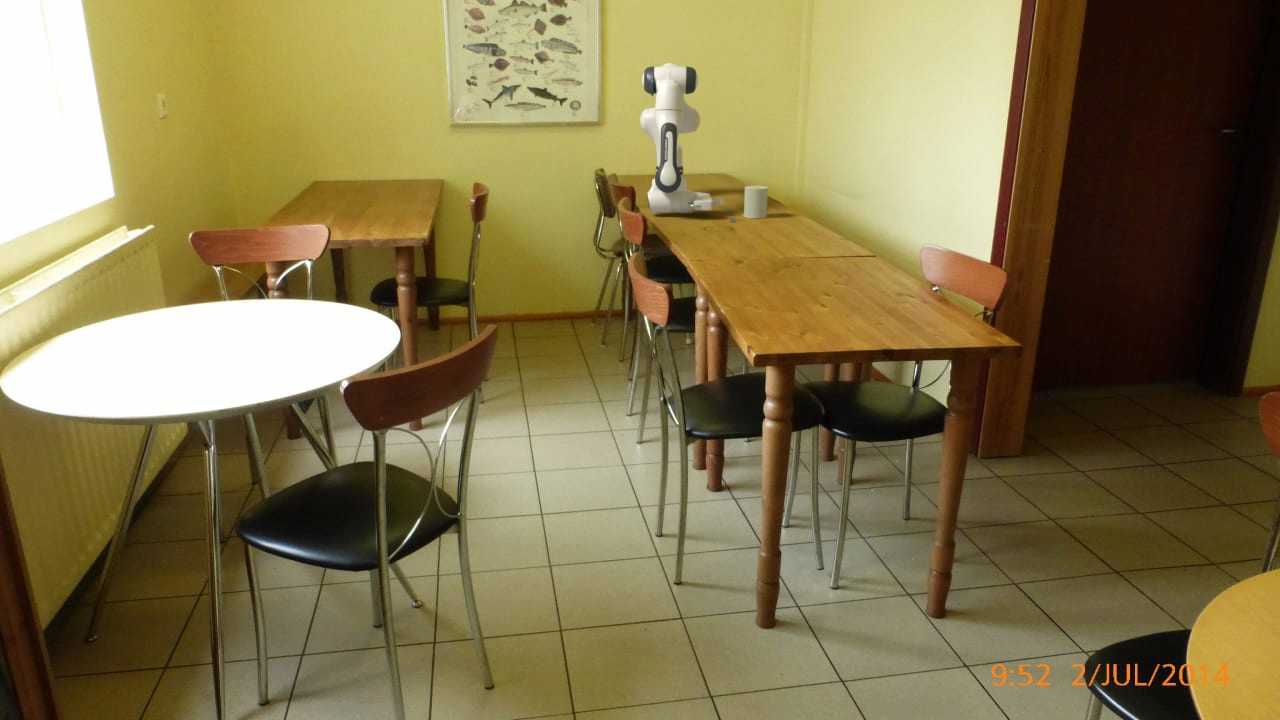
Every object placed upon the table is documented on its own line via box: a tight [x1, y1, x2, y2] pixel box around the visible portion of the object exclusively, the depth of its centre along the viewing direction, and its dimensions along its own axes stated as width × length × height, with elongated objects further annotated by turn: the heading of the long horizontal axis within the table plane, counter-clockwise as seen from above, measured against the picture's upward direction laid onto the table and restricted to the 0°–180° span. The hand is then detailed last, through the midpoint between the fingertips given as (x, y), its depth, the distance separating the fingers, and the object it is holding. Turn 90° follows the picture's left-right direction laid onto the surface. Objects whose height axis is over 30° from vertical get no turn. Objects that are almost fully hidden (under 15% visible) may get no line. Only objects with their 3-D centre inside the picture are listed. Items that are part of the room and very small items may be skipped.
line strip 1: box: [725, 208, 733, 214], centre depth 380 cm, size 8×2×1 cm, turn 179°
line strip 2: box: [729, 217, 737, 223], centre depth 360 cm, size 8×2×1 cm, turn 179°
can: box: [743, 185, 769, 219], centre depth 366 cm, size 9×9×12 cm
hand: (723, 201), depth 368 cm, fingers closed
